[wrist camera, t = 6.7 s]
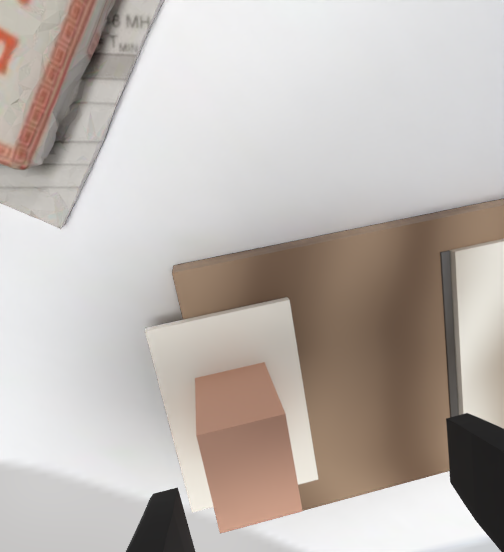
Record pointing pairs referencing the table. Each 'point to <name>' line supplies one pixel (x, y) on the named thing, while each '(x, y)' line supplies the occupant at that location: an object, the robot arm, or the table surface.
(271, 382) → the stub
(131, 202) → the table surface
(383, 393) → the board
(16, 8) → the packaged product
